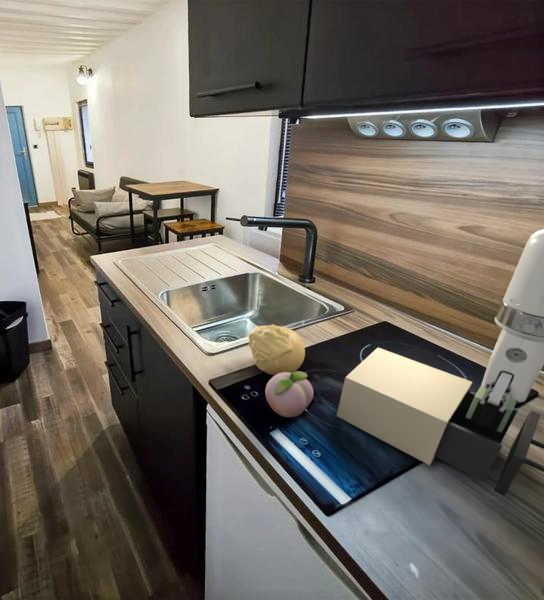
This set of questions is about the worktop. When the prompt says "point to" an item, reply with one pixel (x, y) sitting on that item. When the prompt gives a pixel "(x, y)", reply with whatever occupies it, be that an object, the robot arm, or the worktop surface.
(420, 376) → the cream rectangular box
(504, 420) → the block
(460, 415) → the dark grey drawer
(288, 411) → the decorative fruit
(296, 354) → the tan lumpy ball
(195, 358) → the worktop surface
